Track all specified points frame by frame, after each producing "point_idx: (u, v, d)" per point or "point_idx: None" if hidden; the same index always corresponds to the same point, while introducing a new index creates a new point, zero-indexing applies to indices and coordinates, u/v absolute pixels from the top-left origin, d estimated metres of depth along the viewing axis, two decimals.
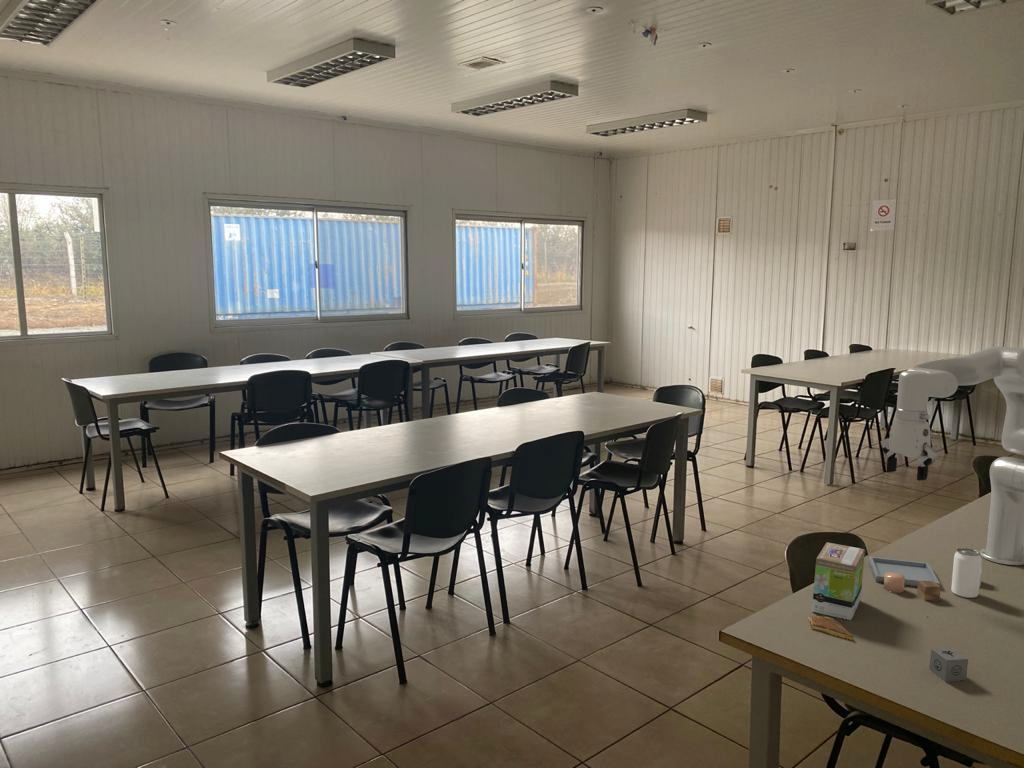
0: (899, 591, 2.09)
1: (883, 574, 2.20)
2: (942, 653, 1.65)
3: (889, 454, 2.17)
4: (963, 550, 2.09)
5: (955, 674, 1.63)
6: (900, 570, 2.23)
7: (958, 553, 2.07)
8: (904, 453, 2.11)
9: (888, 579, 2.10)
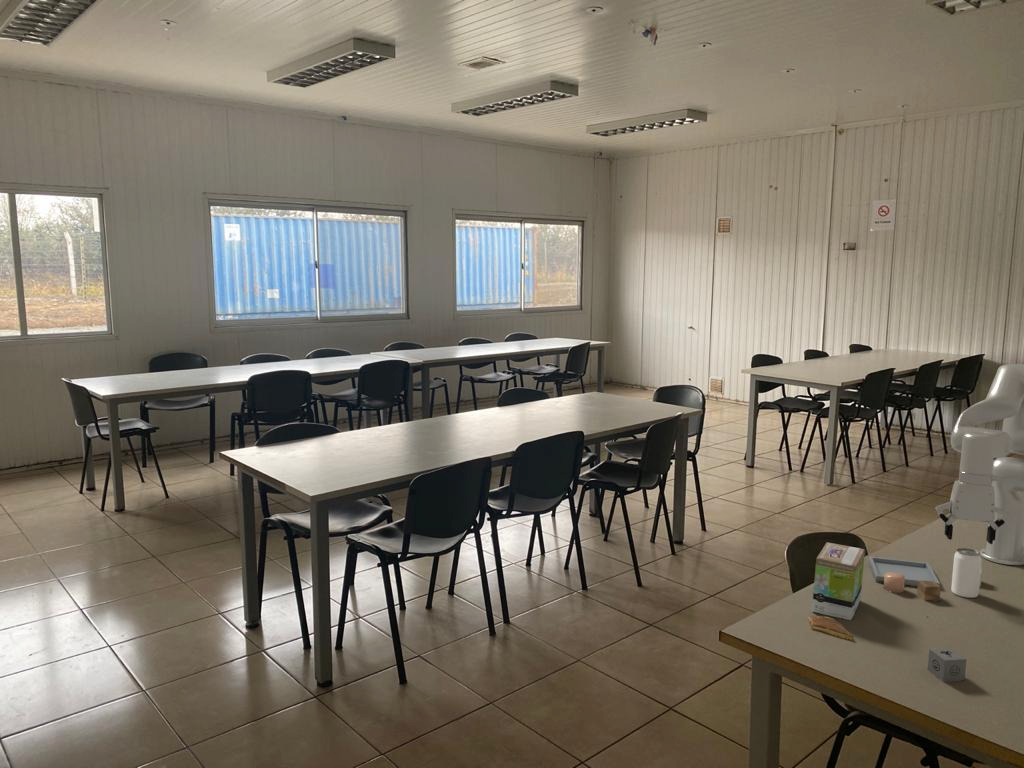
0: (899, 591, 2.09)
1: (883, 574, 2.20)
2: (940, 653, 1.65)
3: (952, 521, 2.06)
4: (963, 550, 2.09)
5: (953, 674, 1.63)
6: (900, 570, 2.23)
7: (958, 553, 2.07)
8: (975, 518, 2.03)
9: (888, 579, 2.10)
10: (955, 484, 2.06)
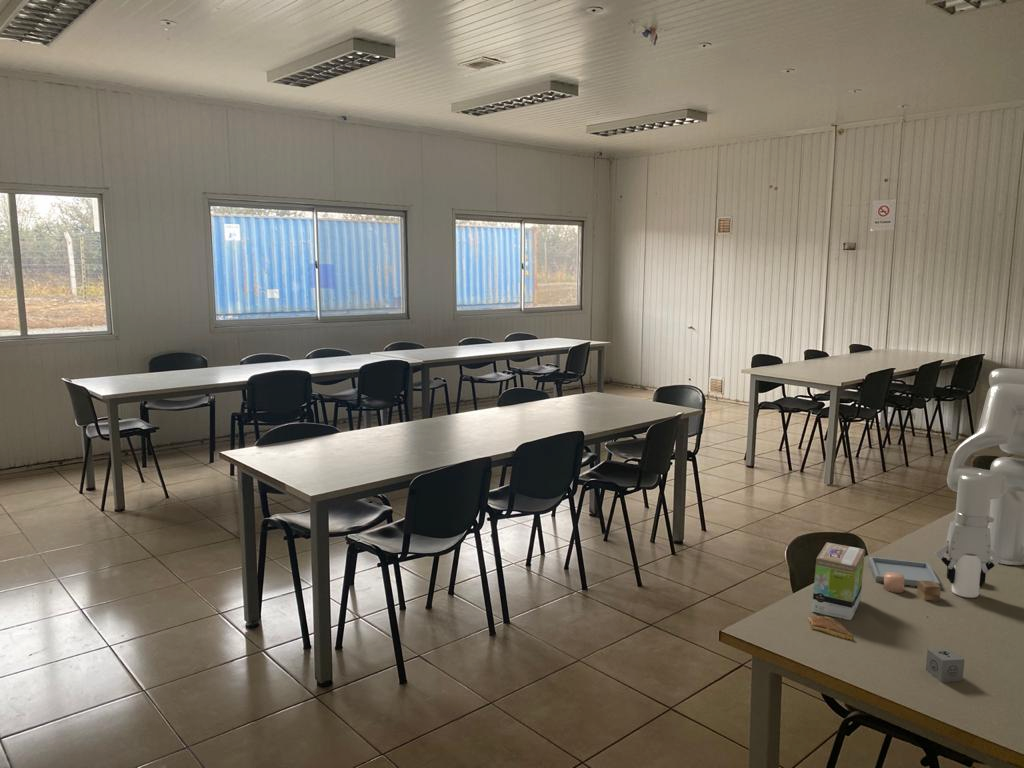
0: (899, 590, 2.09)
1: (883, 574, 2.20)
2: (938, 653, 1.65)
3: (953, 564, 2.07)
4: None
5: (951, 674, 1.63)
6: (900, 570, 2.23)
7: None
8: None
9: (888, 579, 2.10)
10: (951, 525, 2.07)
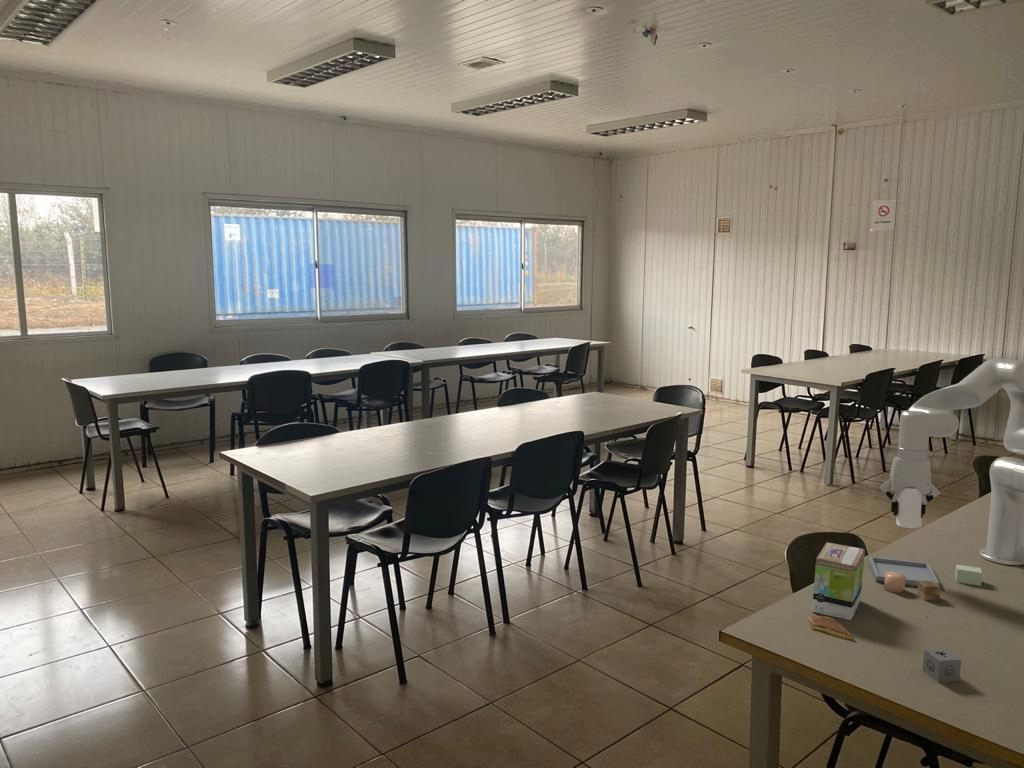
0: (901, 591, 2.09)
1: (883, 574, 2.20)
2: (935, 654, 1.65)
3: (896, 497, 2.18)
4: None
5: (948, 675, 1.63)
6: (900, 570, 2.23)
7: None
8: None
9: (891, 580, 2.09)
10: (894, 460, 2.18)
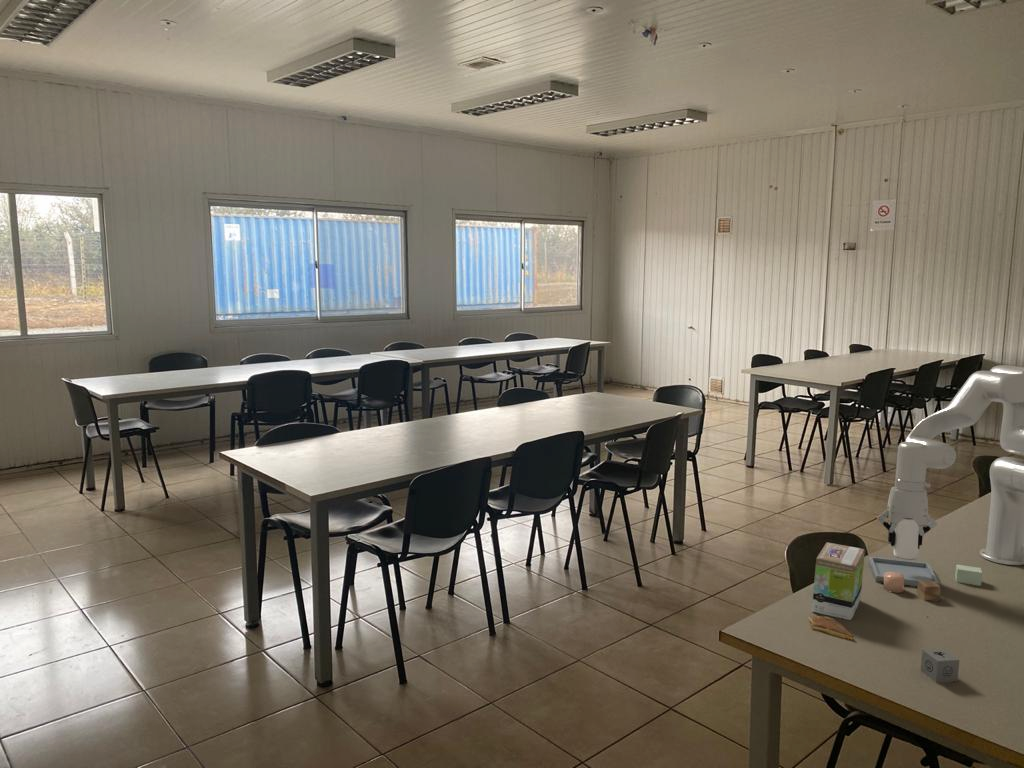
0: (902, 590, 2.09)
1: (883, 574, 2.20)
2: (933, 654, 1.65)
3: (893, 528, 2.19)
4: None
5: (946, 675, 1.63)
6: (900, 570, 2.23)
7: None
8: None
9: (891, 581, 2.09)
10: (891, 490, 2.19)
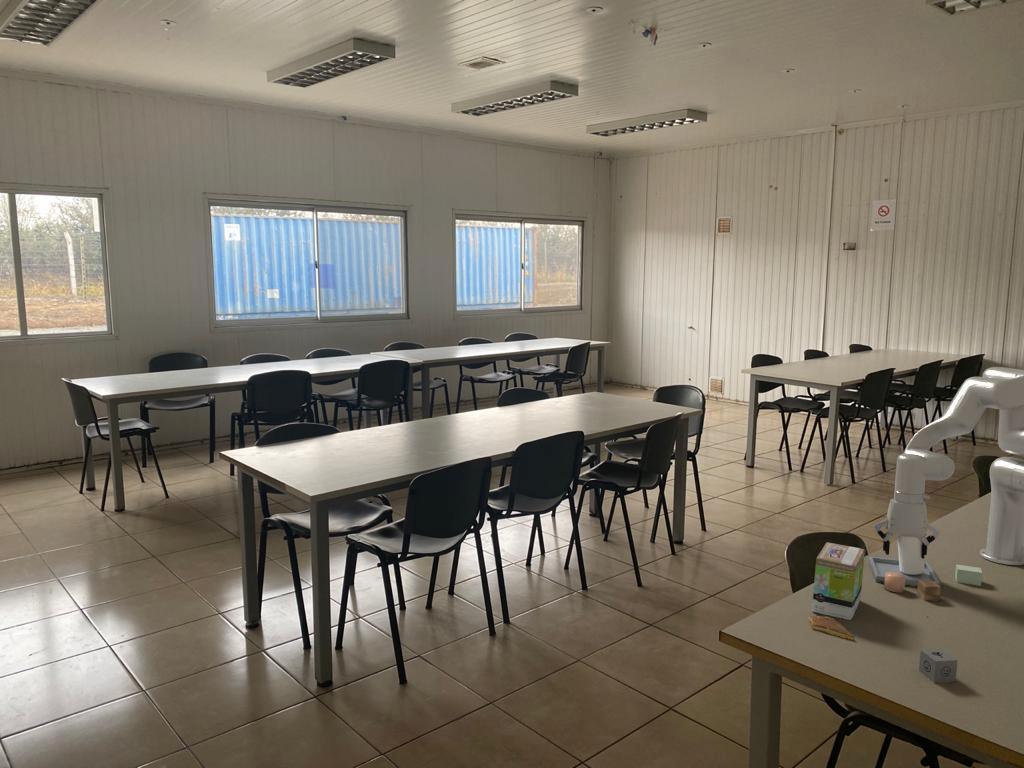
0: (903, 589, 2.10)
1: (883, 574, 2.20)
2: (931, 654, 1.65)
3: (888, 537, 2.20)
4: None
5: (944, 675, 1.63)
6: None
7: None
8: (909, 534, 2.18)
9: (895, 580, 2.09)
10: (890, 502, 2.20)
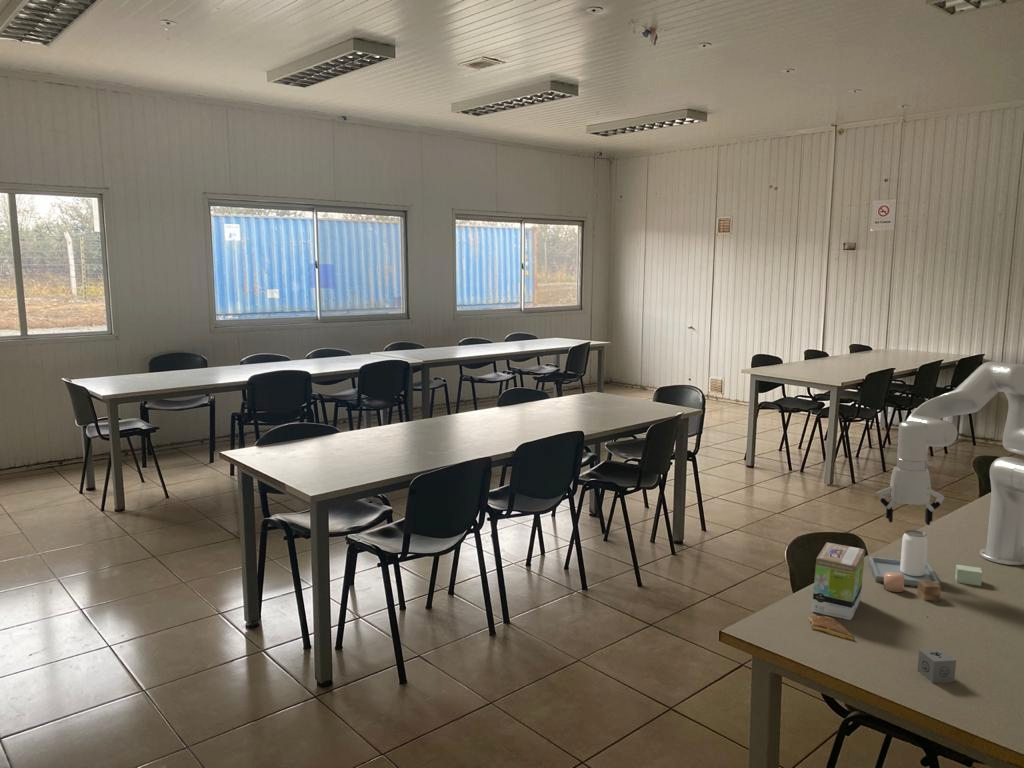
0: (903, 588, 2.10)
1: (883, 574, 2.20)
2: (930, 654, 1.65)
3: (891, 505, 2.19)
4: (910, 532, 2.22)
5: (943, 675, 1.63)
6: None
7: (907, 535, 2.19)
8: (913, 502, 2.16)
9: (896, 580, 2.09)
10: (893, 470, 2.19)
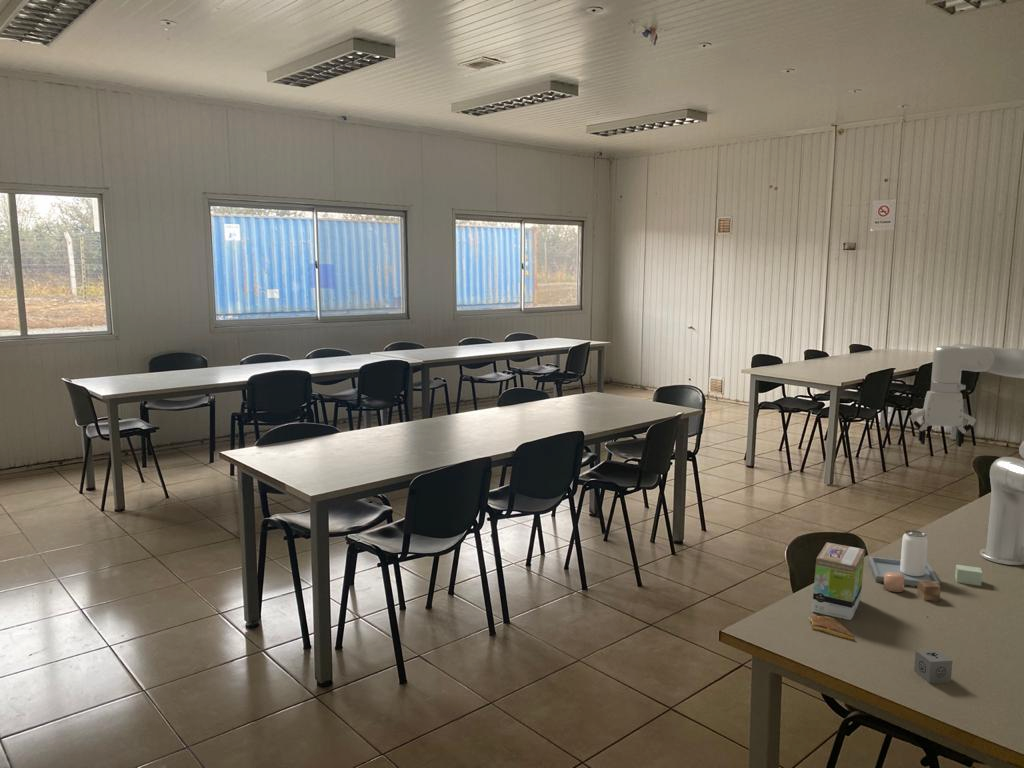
0: None
1: (883, 574, 2.20)
2: (926, 655, 1.65)
3: (924, 427, 2.27)
4: (910, 532, 2.22)
5: (939, 676, 1.63)
6: None
7: (907, 535, 2.19)
8: (945, 424, 2.24)
9: (900, 580, 2.09)
10: (927, 394, 2.27)
